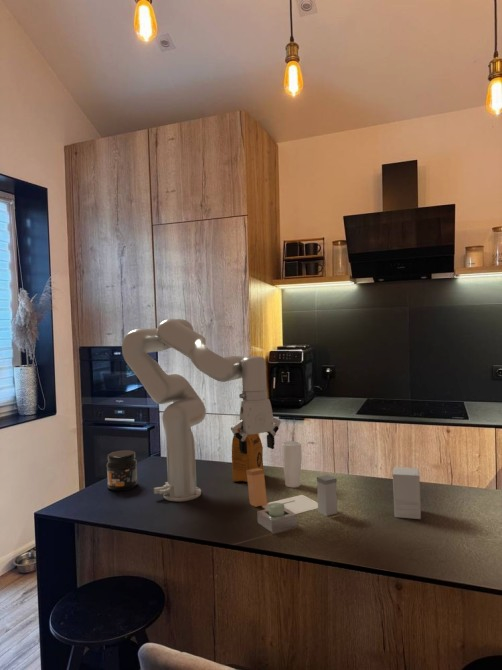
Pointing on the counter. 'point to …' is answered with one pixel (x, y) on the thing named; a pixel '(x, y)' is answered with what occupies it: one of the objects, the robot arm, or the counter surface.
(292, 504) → the sketch pad
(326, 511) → the grey rectangular prism
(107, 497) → the counter surface
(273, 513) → the button
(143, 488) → the counter surface
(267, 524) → the button collar
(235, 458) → the coffee package
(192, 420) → the robot arm
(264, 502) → the brown box
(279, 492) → the counter surface
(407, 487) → the supplement box
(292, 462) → the drinking glass
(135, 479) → the supplement container
